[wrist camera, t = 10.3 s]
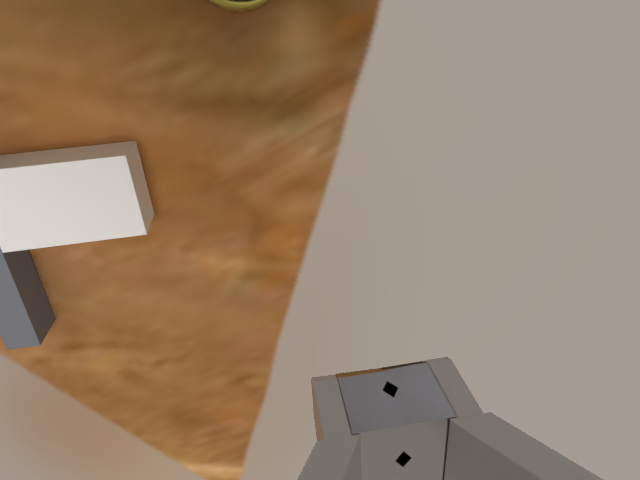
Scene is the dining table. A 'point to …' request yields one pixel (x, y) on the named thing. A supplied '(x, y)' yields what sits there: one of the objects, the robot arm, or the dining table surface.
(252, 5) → the vase
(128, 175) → the offwhite block
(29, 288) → the charcoal board
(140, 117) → the dining table surface
